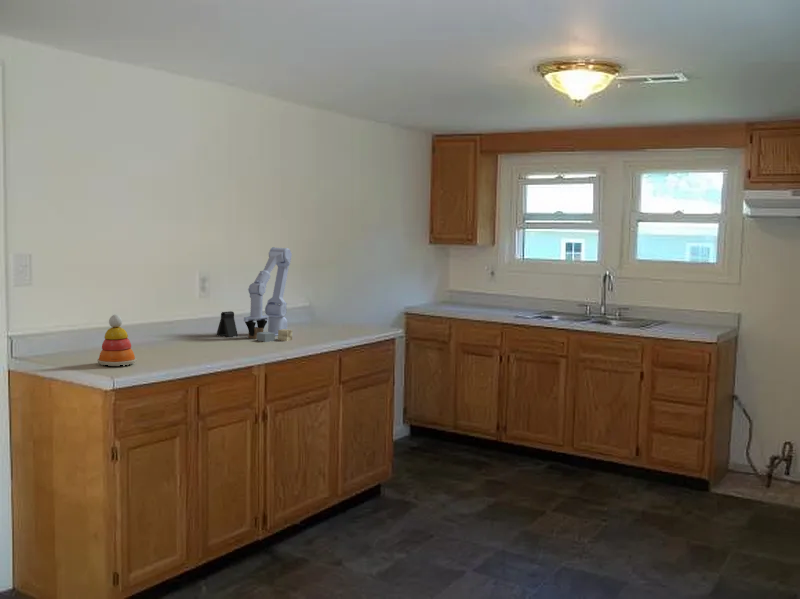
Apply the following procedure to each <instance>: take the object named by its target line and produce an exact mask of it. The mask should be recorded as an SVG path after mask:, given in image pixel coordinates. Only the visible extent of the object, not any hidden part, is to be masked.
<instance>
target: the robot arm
mask: <svg viewBox="0 0 800 599" xmlns="http://www.w3.org/2000/svg"><path fill="white" fill-rule="evenodd" d="M292 253H293V252H291V249H290V248H289V247H286V248H285V247H274V246H273V247H271V248H270V250H269V252H268V259H267V262H266V264H265V266H264V268H263V270H260V271H259V272H258V275H257V276H256V278H255V280H254V281H253V282H251V284H250V285H249V286H248V289H247V290H248V293H249V298H250V315H248V316H246V317H243V322H244V323H245V326H246V328H247V330H248V335H250V336H254V328H255V327H259V328H263V330H264V328H265V326H266V325H267V324H268V325H267V332H271V333H275V337H276V336H277V337H278V330H282V329H287V330H288V319H287V318H286V317H285V316H286V314H287V304H288V303H287V302H286V300H285V299H284V295H285V289H286V285H287V279H288V274H289V268H290V265H291V262H292V261H291V260H292V256H293V254H292ZM275 266H277V272H276V276H275V282H274V286H273V292H272V297H270V298H269V299H267V302H266V303H267V304H266V305H265V307H264V312H265V315H263V303H264V302H263V300H264V295H265V293H266V291H267V290H266V289H267V284H268V282H269V280H270V279H271V273H272V271H273V270H274V268H275ZM255 321H256V322H255Z"/></svg>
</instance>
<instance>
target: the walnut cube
mask: <svg viewBox="0 0 800 599" xmlns="http://www.w3.org/2000/svg"><path fill="white" fill-rule="evenodd" d="M259 332H264V329H263V328H259V327H258V326H255V328H254V336H250V335H249V334H247V335H248V339H251V338H253V339H252V340H257V333H259Z"/></svg>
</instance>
